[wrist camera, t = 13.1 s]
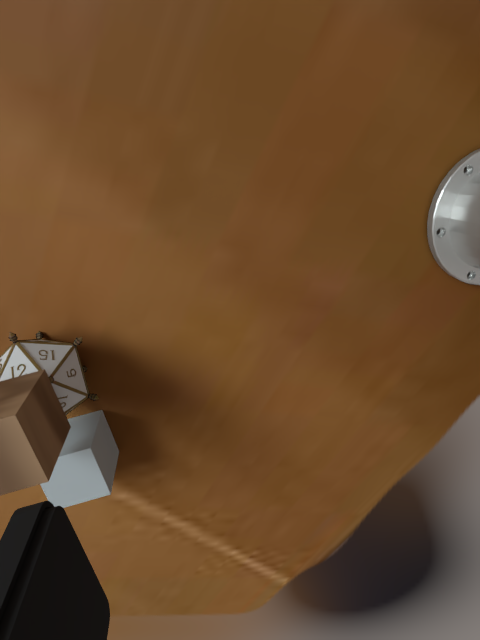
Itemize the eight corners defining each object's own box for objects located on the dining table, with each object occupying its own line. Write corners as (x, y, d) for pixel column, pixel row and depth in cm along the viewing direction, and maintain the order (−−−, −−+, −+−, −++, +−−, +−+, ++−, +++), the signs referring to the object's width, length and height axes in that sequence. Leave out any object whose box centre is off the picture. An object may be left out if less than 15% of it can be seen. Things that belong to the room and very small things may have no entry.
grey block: (102, 409, 41) (90, 448, 35) (119, 451, 43) (110, 494, 37) (50, 423, 41) (30, 464, 35) (69, 465, 42) (53, 510, 37)
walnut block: (44, 369, 30) (15, 415, 25) (70, 426, 32) (48, 481, 27) (-26, 388, 30) (-72, 438, 25) (4, 445, 32) (-32, 504, 26)
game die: (78, 359, 43) (84, 458, 38) (-22, 355, 38) (-31, 467, 33) (102, 305, 37) (114, 413, 32) (-12, 293, 32) (-21, 417, 27)
